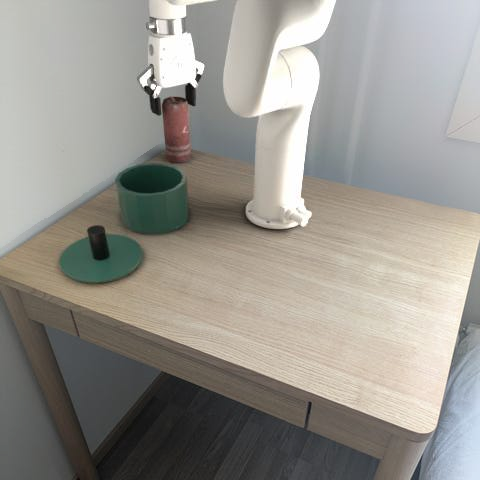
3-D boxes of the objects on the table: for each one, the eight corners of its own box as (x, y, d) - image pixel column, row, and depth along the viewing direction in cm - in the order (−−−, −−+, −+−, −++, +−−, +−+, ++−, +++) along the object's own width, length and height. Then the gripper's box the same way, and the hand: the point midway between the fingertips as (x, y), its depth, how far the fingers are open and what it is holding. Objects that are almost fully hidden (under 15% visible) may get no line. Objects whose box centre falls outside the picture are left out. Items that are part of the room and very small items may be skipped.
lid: (158, 263, 89) (154, 232, 85) (84, 296, 82) (76, 264, 78) (117, 230, 98) (111, 200, 93) (47, 257, 90) (37, 226, 86)
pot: (201, 219, 101) (200, 180, 96) (145, 242, 95) (140, 202, 89) (164, 194, 109) (160, 157, 103) (109, 214, 102) (102, 175, 96)
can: (181, 150, 126) (177, 93, 116) (195, 159, 122) (193, 100, 113) (161, 157, 123) (155, 98, 113) (175, 165, 119) (171, 106, 110)
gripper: (143, 35, 97) (151, 122, 109) (212, 23, 105) (213, 105, 117) (123, 27, 101) (133, 112, 113) (191, 17, 109) (194, 97, 121)
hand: (174, 109), depth 115 cm, fingers open, 9 cm apart
